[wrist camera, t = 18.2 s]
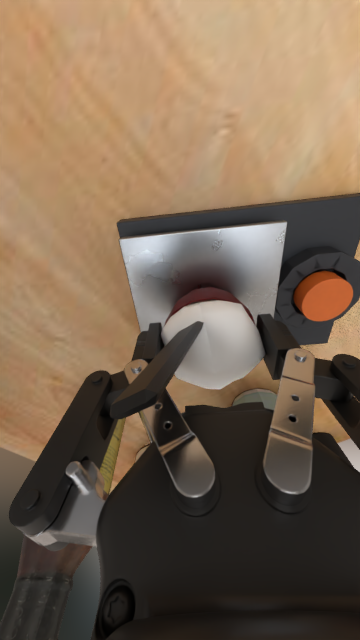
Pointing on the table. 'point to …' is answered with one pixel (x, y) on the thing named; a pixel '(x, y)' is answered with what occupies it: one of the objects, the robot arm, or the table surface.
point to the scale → (286, 247)
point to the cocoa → (197, 349)
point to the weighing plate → (204, 267)
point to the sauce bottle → (49, 575)
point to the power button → (323, 296)
